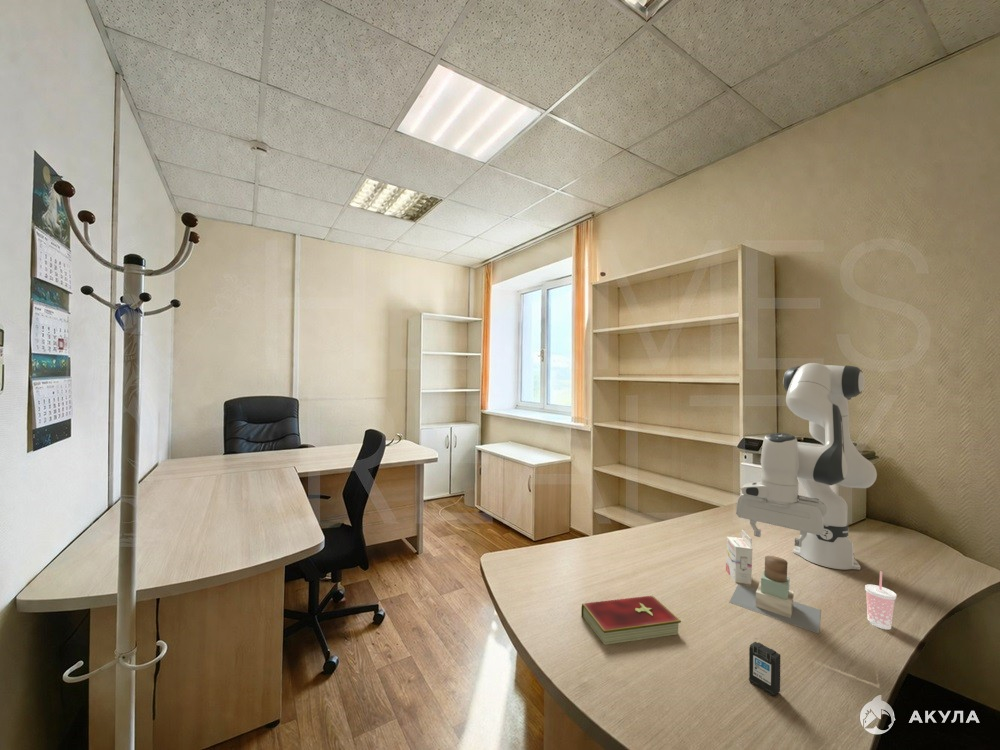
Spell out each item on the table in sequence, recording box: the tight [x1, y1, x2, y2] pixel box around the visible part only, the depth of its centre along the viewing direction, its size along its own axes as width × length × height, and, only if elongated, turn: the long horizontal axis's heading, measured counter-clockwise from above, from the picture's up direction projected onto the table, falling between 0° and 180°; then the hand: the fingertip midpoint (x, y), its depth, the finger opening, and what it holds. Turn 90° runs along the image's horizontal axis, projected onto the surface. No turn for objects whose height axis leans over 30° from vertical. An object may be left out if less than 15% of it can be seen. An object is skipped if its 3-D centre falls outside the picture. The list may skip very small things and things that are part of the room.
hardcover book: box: [580, 595, 682, 645], centre depth 102 cm, size 12×21×4 cm, turn 104°
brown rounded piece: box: [764, 555, 788, 582], centre depth 112 cm, size 5×5×5 cm
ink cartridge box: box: [725, 529, 753, 585], centre depth 129 cm, size 9×5×15 cm, turn 168°
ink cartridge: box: [748, 641, 781, 697], centre depth 83 cm, size 5×2×8 cm, turn 32°
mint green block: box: [760, 569, 791, 600], centre depth 112 cm, size 6×6×4 cm
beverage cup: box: [864, 570, 897, 630], centre depth 107 cm, size 6×6×14 cm
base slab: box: [756, 580, 795, 618], centre depth 112 cm, size 8×8×4 cm
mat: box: [728, 583, 822, 635], centre depth 112 cm, size 14×20×1 cm
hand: (777, 540), depth 112 cm, fingers open, 8 cm apart
